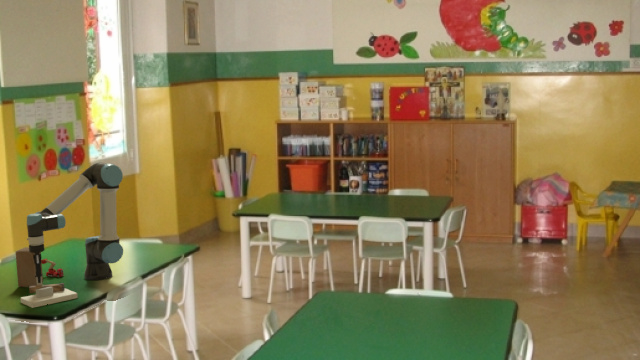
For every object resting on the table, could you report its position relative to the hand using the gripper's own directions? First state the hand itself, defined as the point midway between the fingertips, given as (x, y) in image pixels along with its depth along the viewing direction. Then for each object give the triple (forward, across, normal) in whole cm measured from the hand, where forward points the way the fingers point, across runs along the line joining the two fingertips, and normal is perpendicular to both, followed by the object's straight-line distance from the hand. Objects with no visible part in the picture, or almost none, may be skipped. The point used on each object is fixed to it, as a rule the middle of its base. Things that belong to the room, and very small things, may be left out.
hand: (39, 288), depth 445 cm
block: (+5, -26, -4) cm, 26 cm away
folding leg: (+1, +3, +4) cm, 5 cm away
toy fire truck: (+5, -41, +8) cm, 42 cm away
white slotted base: (+4, +11, +4) cm, 12 cm away
